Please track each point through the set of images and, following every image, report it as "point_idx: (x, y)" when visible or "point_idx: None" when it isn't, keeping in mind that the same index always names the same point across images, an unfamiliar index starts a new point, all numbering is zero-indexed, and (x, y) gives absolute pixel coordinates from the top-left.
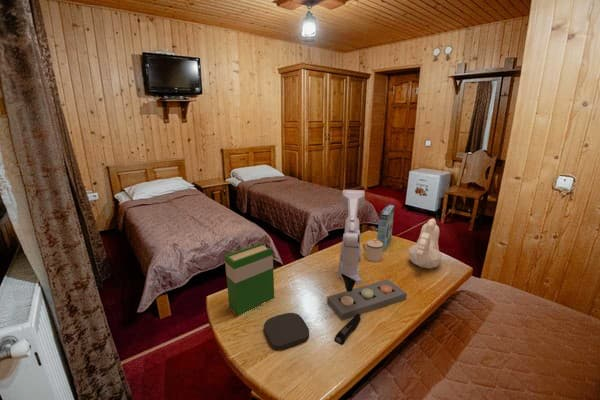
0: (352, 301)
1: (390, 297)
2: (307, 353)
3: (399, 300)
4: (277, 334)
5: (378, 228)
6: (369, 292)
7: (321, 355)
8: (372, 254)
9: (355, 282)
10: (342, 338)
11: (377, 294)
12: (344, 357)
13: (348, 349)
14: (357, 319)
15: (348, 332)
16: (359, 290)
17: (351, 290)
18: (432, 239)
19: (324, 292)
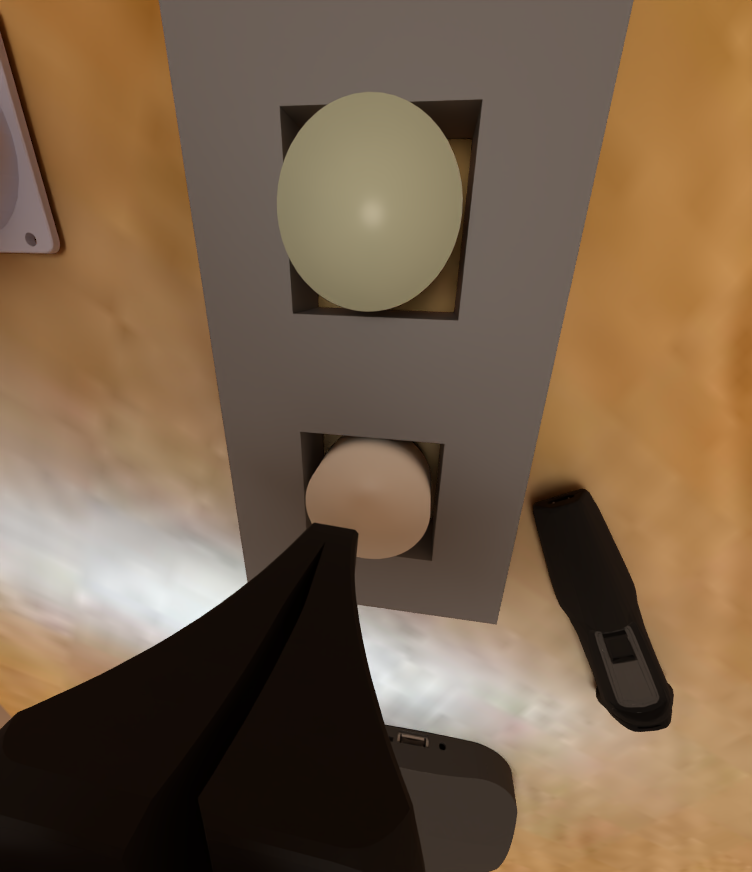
0: (417, 486)
1: None
2: (577, 796)
3: None
4: (431, 861)
5: None
6: (393, 190)
7: (634, 773)
8: None
9: (370, 676)
10: (670, 716)
11: (437, 33)
12: (740, 724)
13: (717, 683)
14: (602, 543)
15: (657, 664)
16: (254, 260)
17: (356, 548)
18: None
19: (154, 499)
